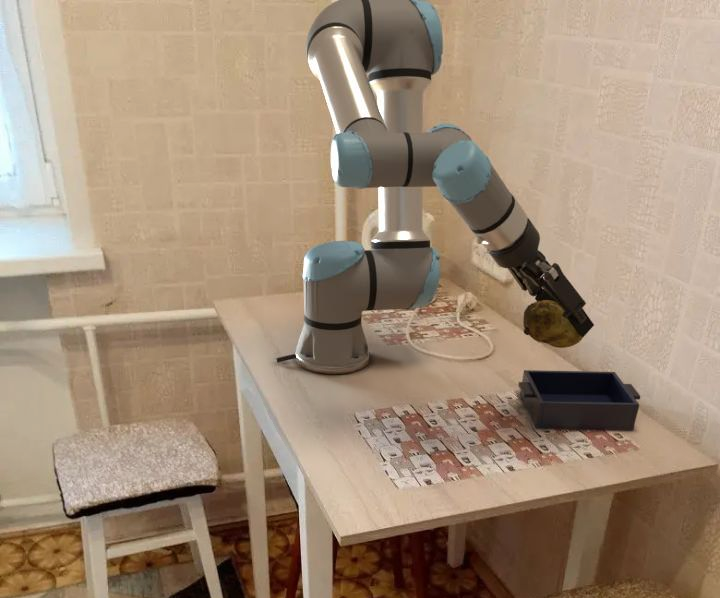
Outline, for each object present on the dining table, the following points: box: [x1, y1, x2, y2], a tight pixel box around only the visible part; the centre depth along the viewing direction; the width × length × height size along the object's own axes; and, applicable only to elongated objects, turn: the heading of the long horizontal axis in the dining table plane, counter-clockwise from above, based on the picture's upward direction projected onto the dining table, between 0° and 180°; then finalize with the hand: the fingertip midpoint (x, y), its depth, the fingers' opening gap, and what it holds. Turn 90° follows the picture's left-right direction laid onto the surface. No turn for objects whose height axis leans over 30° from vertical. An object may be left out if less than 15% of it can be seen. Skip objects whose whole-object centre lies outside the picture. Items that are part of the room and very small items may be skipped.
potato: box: [522, 300, 584, 349], centre depth 124 cm, size 8×13×8 cm, turn 104°
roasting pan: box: [519, 369, 640, 431], centre depth 135 cm, size 17×14×5 cm
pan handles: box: [517, 381, 641, 401], centre depth 134 cm, size 21×5×1 cm, turn 91°
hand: (572, 322), depth 126 cm, fingers closed on potato, 7 cm apart
